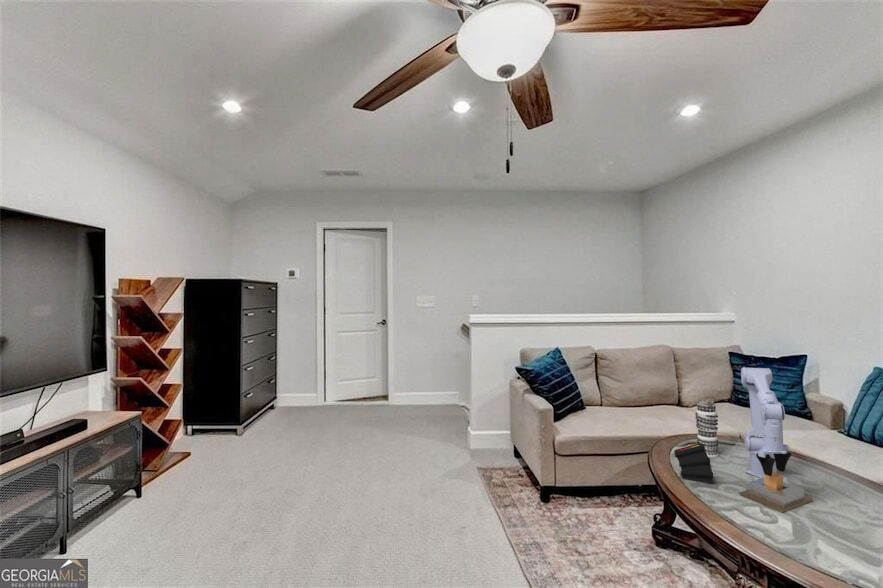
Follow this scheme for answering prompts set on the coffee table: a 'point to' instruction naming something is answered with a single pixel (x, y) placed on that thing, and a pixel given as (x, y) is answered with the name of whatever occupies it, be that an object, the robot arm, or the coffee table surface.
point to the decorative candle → (707, 426)
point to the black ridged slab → (695, 463)
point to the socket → (775, 495)
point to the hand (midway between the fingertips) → (774, 472)
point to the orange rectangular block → (774, 481)
